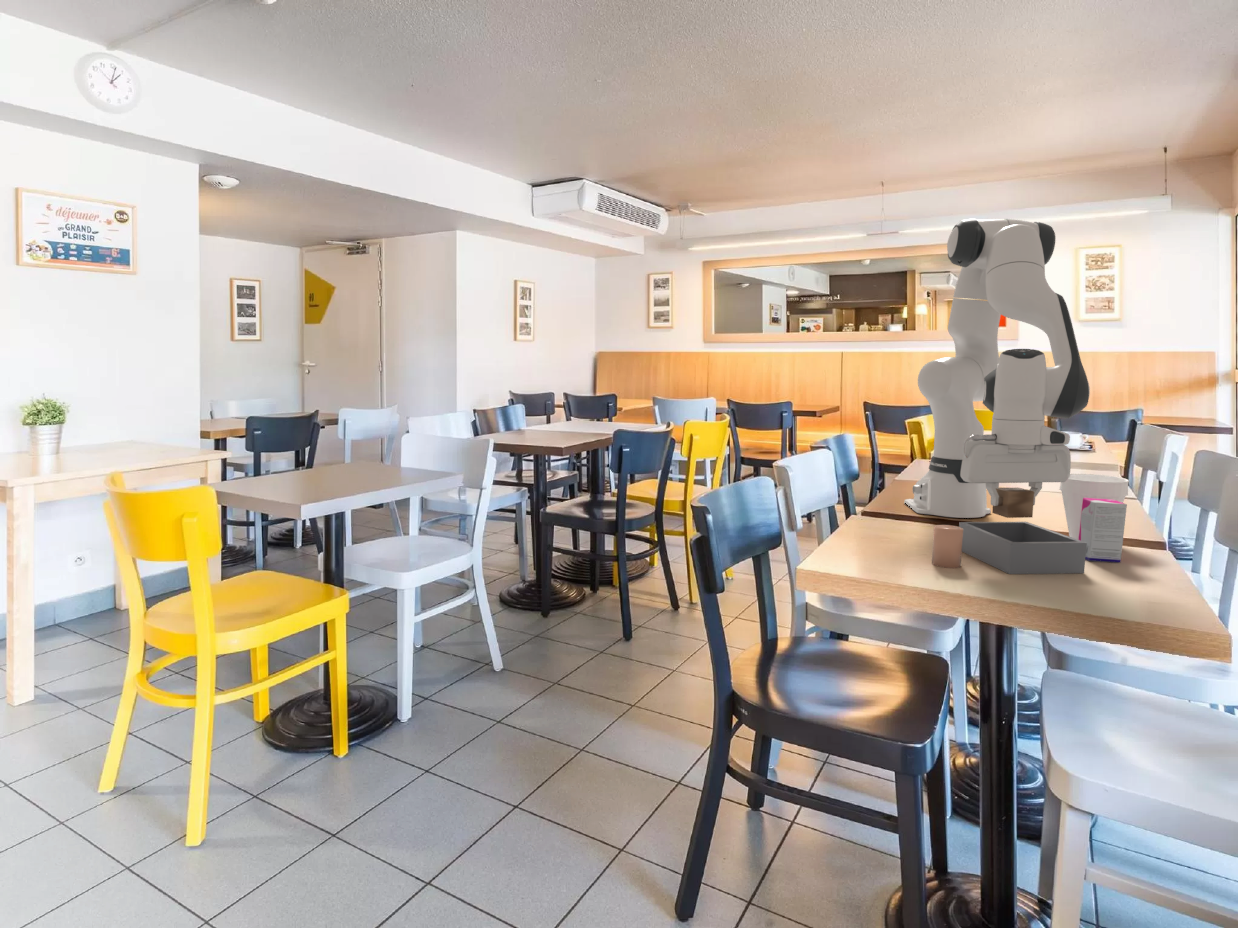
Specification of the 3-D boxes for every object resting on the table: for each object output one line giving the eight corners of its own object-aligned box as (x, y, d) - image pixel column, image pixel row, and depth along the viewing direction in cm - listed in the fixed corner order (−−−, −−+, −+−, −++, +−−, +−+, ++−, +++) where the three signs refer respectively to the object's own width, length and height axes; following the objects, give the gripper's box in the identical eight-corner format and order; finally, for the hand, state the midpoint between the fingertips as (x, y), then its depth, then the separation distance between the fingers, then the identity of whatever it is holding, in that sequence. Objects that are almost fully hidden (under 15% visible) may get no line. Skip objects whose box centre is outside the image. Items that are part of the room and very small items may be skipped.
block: (1007, 517, 141) (1008, 491, 140) (992, 512, 146) (993, 487, 145) (1032, 517, 141) (1034, 491, 141) (1016, 512, 146) (1018, 487, 146)
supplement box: (1122, 563, 140) (1128, 503, 139) (1087, 561, 141) (1093, 502, 140) (1108, 555, 146) (1114, 498, 144) (1075, 553, 147) (1080, 497, 146)
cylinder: (926, 560, 141) (929, 524, 140) (952, 560, 141) (954, 524, 141) (939, 568, 136) (942, 530, 135) (965, 567, 136) (968, 530, 136)
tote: (957, 549, 150) (959, 522, 149) (1023, 548, 151) (1026, 521, 150) (1008, 573, 132) (1011, 543, 132) (1084, 573, 133) (1086, 542, 132)
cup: (1134, 549, 151) (1141, 483, 149) (1068, 546, 153) (1074, 481, 151) (1106, 535, 163) (1112, 474, 161) (1046, 533, 165) (1051, 472, 163)
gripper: (973, 436, 138) (969, 509, 140) (1078, 435, 139) (1073, 507, 141) (956, 433, 144) (952, 503, 146) (1056, 432, 146) (1051, 501, 147)
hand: (1012, 505), depth 144 cm, fingers closed on block, 5 cm apart
